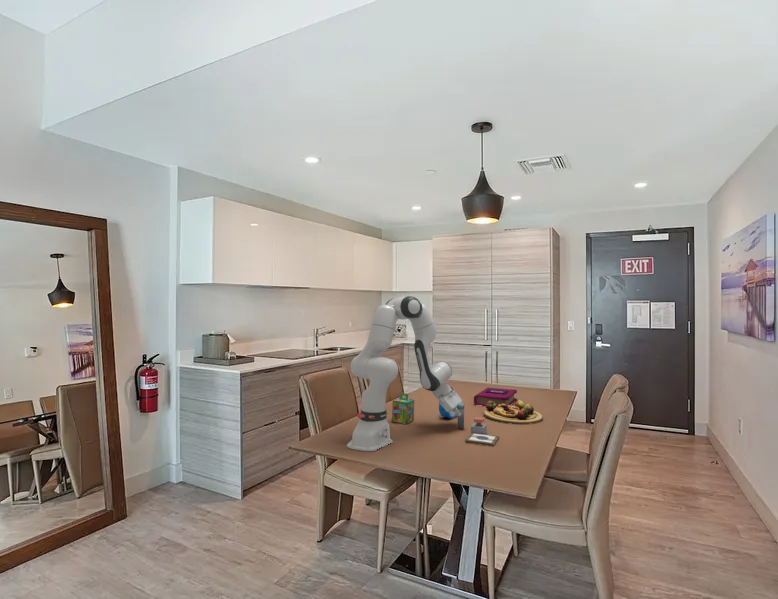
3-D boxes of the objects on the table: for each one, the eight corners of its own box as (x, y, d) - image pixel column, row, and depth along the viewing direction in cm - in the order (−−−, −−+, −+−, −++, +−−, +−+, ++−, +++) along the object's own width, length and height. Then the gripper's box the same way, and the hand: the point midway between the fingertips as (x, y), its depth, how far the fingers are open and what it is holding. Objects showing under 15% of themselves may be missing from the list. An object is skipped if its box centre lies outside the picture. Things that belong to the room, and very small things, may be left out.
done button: (482, 427, 225) (482, 419, 225) (473, 426, 226) (473, 418, 226) (483, 425, 228) (483, 417, 228) (475, 424, 230) (475, 417, 230)
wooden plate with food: (472, 416, 261) (472, 402, 260) (502, 407, 283) (503, 393, 283) (523, 429, 238) (524, 413, 238) (552, 418, 260) (553, 403, 260)
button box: (483, 436, 223) (484, 427, 223) (470, 434, 226) (470, 426, 226) (486, 432, 229) (486, 424, 229) (473, 431, 231) (473, 423, 231)
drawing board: (493, 446, 207) (493, 443, 207) (465, 442, 213) (465, 439, 213) (499, 438, 219) (499, 435, 219) (471, 435, 225) (471, 432, 225)
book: (473, 405, 288) (473, 393, 288) (485, 397, 313) (485, 386, 313) (507, 409, 278) (507, 397, 278) (517, 400, 303) (517, 389, 303)
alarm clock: (447, 421, 250) (448, 393, 250) (438, 419, 254) (438, 391, 254) (459, 416, 261) (459, 389, 261) (449, 414, 265) (449, 388, 265)
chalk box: (391, 422, 247) (391, 394, 247) (399, 418, 255) (399, 391, 255) (407, 424, 243) (407, 396, 243) (414, 420, 251) (414, 393, 251)
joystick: (463, 428, 233) (463, 404, 233) (456, 427, 234) (456, 403, 234) (464, 426, 236) (465, 403, 236) (458, 426, 237) (458, 402, 237)
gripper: (442, 392, 228) (461, 414, 224) (453, 386, 247) (471, 406, 243) (433, 401, 230) (452, 423, 226) (445, 393, 249) (462, 414, 245)
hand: (462, 414), depth 235 cm, fingers closed on joystick, 3 cm apart
